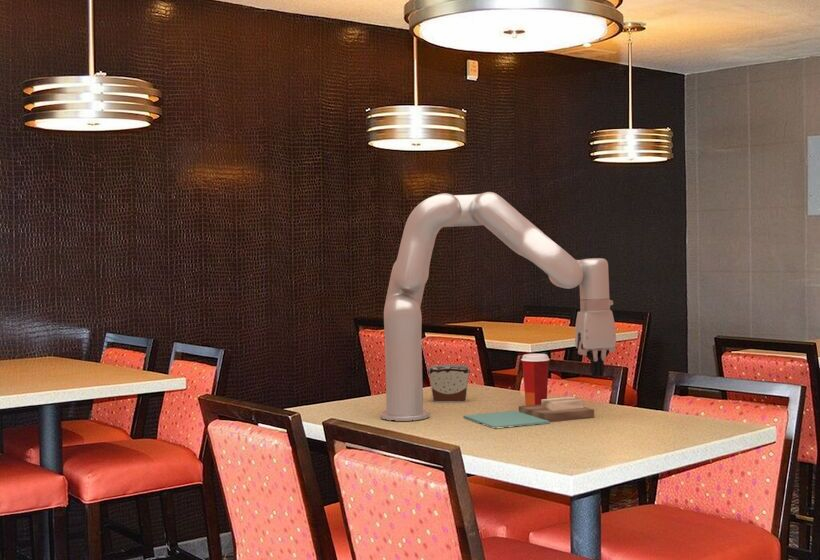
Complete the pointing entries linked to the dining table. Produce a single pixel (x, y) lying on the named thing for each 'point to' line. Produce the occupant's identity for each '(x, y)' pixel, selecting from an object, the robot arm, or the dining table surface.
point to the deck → (557, 413)
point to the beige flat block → (562, 403)
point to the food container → (449, 382)
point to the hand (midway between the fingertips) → (597, 375)
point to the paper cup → (535, 377)
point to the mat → (506, 419)
